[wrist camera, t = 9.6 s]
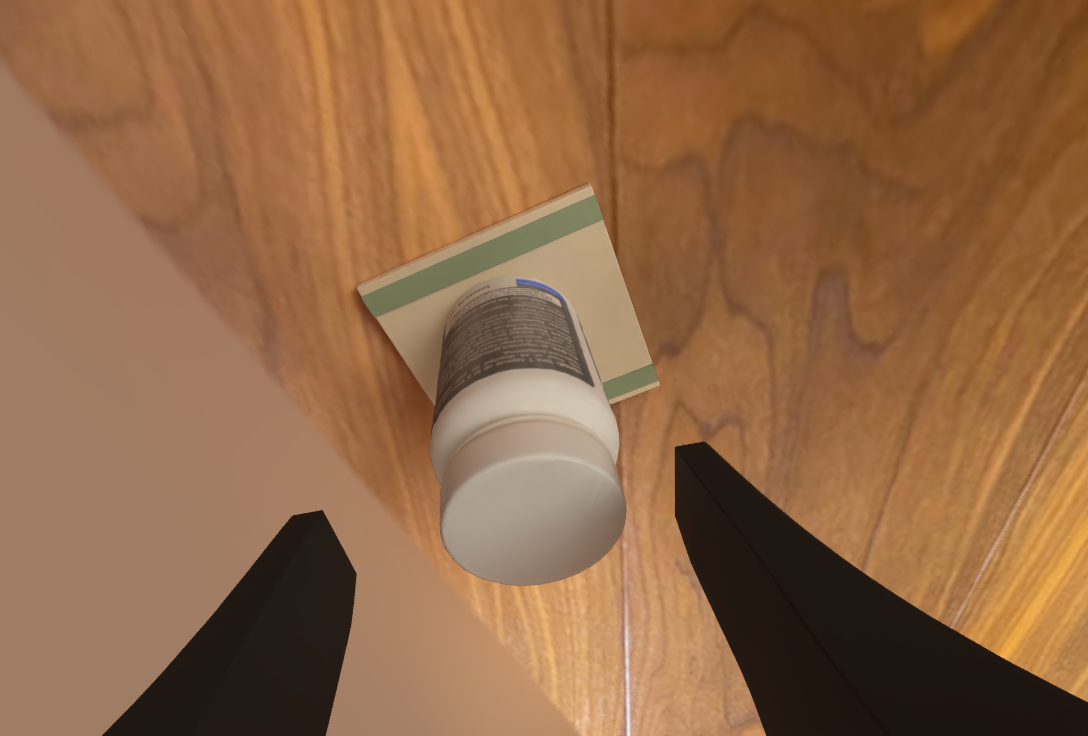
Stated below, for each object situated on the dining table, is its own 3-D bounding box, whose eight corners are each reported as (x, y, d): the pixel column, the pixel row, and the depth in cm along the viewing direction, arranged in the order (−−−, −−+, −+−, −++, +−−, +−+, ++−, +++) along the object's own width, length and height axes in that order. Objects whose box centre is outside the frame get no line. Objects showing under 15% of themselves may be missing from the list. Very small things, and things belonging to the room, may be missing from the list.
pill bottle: (413, 334, 18) (368, 532, 10) (518, 242, 16) (547, 397, 9) (508, 415, 20) (524, 623, 13) (607, 339, 18) (686, 526, 11)
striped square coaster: (469, 452, 21) (469, 460, 21) (358, 283, 17) (355, 289, 16) (657, 380, 20) (660, 387, 20) (588, 182, 16) (591, 185, 16)
